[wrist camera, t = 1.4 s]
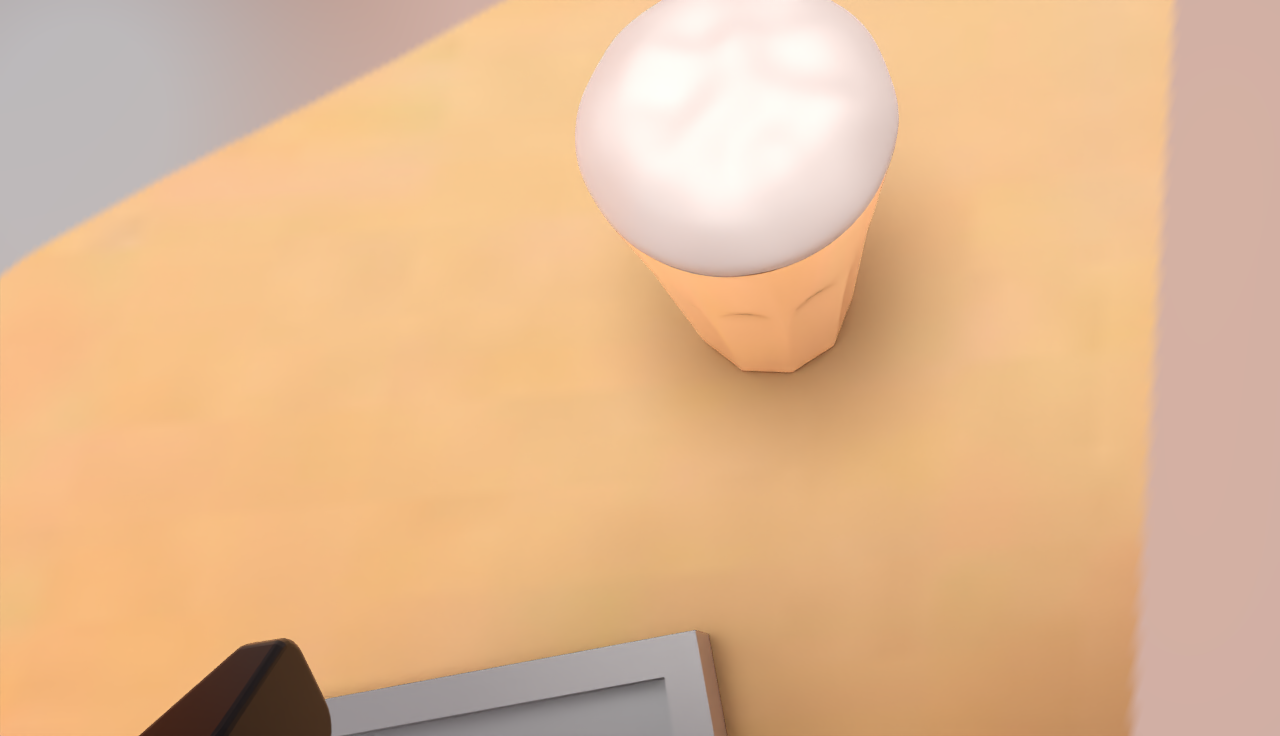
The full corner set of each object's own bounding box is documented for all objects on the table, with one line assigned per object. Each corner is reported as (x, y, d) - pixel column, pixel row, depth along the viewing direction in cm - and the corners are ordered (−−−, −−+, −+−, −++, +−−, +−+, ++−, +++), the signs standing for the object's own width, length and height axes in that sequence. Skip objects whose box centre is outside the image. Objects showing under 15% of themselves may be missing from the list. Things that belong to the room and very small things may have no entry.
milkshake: (926, 202, 24) (976, -115, 14) (837, 437, 23) (826, 265, 13) (725, 142, 25) (646, -188, 15) (631, 363, 24) (487, 156, 14)
